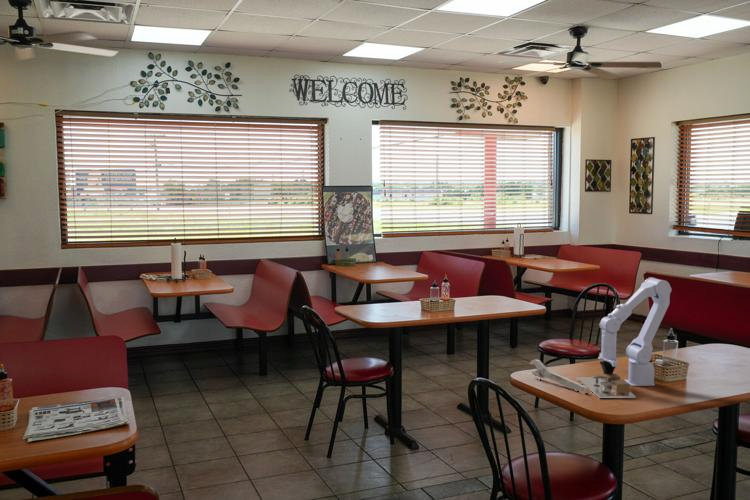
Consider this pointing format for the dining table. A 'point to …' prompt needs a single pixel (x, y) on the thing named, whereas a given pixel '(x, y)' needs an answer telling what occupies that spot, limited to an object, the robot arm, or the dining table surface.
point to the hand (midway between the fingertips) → (607, 379)
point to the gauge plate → (607, 388)
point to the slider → (607, 378)
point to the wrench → (555, 376)
